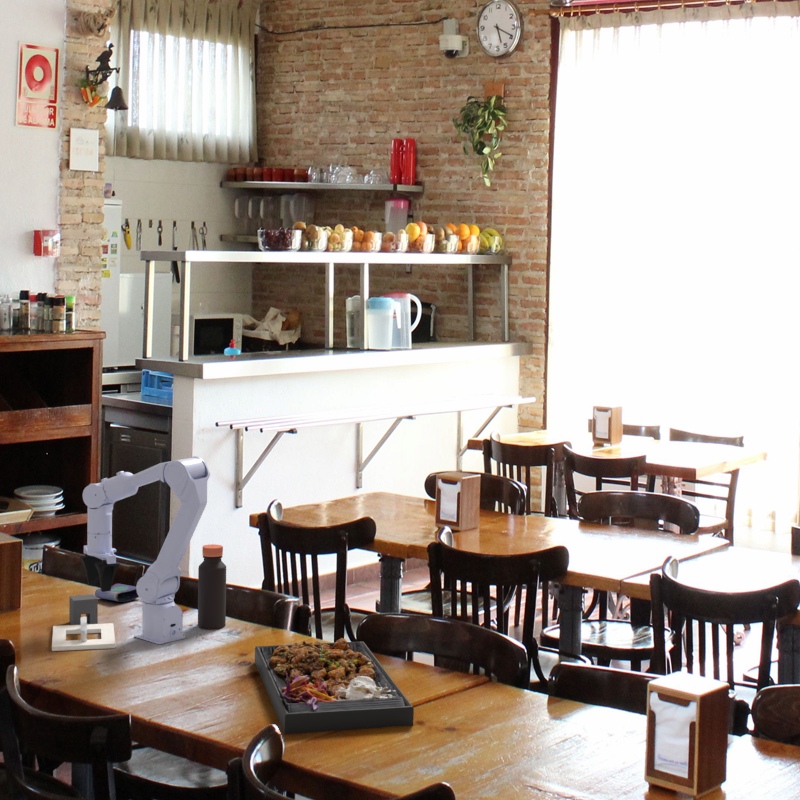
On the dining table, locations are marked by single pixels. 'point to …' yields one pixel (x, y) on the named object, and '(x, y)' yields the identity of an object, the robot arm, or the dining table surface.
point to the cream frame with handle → (83, 636)
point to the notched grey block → (83, 609)
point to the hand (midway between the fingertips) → (99, 587)
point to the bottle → (212, 589)
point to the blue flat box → (118, 593)
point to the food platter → (330, 687)
